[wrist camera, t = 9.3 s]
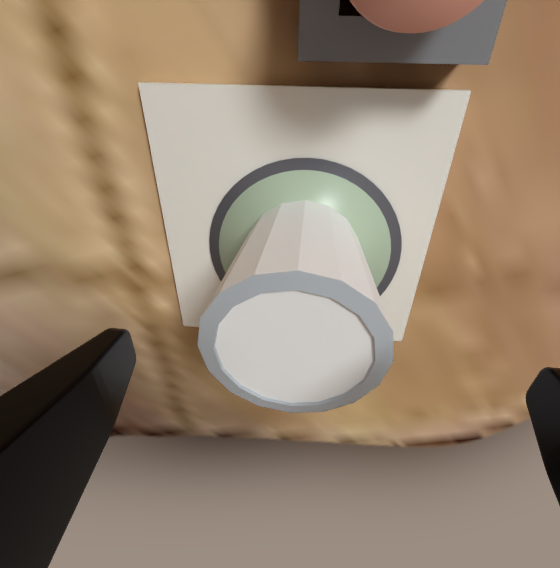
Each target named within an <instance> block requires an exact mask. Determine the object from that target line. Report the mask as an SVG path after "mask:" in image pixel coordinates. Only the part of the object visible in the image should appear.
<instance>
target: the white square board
mask: <svg viewBox="0 0 560 568" xmlns="http://www.w3.org/2000/svg"><path fill="white" fill-rule="evenodd" d="M138 85H139V90H140V96H141V101H142V106H143V112H144V117H145V123H146V128H147V133H148V139H149V144H150V149H151V155H152V160H153V165H154V171H155V176H156V181H157V187H158V192H159V198H160V203H161V208H162V214H163V219H164V224H165V230H166V235H167V240H168V246H169V251H170V256H171V262H172V267H173V272H174V278H175V283H176V289H177V294H178V299H179V305H180V310H181V315H182V321H183V326H190V327H199V326H200V317H201V316H202V314H203V312H204V310H205V309H206V307H207V305H208V304H209V302H210V300H211V298H212V297H213V295H214V293H215V291H216V290H217V288H218V286H219V284H220V283H221V281H222V279H223V278H224V276H225V274H226V272H227V271H228V269H229V267H230V265H231V264H232V262H233V260H234V258H235V257H236V255H237V253H238V251H239V250H240V248H241V246H242V245H243V243H244V241H245V239H246V238H247V236H248V234H249V232H250V231H251V229H252V228H253V227H254V225H255V224H256V223H257V221H258V220H259V218H260V217H261V216H262V214H264V213H266V212H267V211H269V210H271V209H273V208H274V207H276V206H278V205H280V204H281V203H287V202H295V201H302V200H307V201H311V202H316V203H320V204H324V205H328V206H330V207H331V208H332V209H334V210H335V211H337V212H338V213H339V214H341V215H342V216H344V217H345V218H346V219H347V220H348V222H349V223H350V225H351V227H352V228H353V230H354V232H355V234H356V235H357V237H358V240H359V242H360V245H361V248H362V250H363V253H364V256H365V258H366V261H367V264H368V266H369V269H370V271H371V274H372V277H373V279H374V282H375V285H376V287H377V290H378V293H379V295H380V298H381V301H382V303H383V306H384V309H385V311H386V314H387V316H388V319H389V322H390V324H391V327H392V330H393V341H402V338H403V335H404V331H405V328H406V324H407V320H408V317H409V313H410V310H411V306H412V302H413V299H414V295H415V292H416V288H417V284H418V281H419V277H420V274H421V270H422V266H423V263H424V259H425V256H426V252H427V248H428V245H429V241H430V237H431V234H432V230H433V227H434V223H435V219H436V216H437V212H438V209H439V205H440V201H441V198H442V194H443V191H444V187H445V183H446V180H447V176H448V173H449V169H450V165H451V162H452V158H453V155H454V151H455V147H456V144H457V140H458V137H459V133H460V129H461V126H462V122H463V119H464V115H465V111H466V108H467V104H468V101H469V97H470V93H471V91H470V90H450V89H408V88H367V87H326V86H284V85H243V84H201V83H160V82H140V83H138Z"/></svg>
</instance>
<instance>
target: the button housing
mask: <svg viewBox="0 0 560 568" xmlns="http://www.w3.org/2000/svg"><path fill="white" fill-rule="evenodd" d="M506 2H507V0H484V1H483V2H482V3H481V4H480V5H478V6H477V7H476V8H475V9H474V10H472V11H471V12H470V13H468V14H467V15H465V16H464V17H462V18H461V19H459V20H457V21H456V22H454V23H452V24H450V25H448V26H445V27H442V28H440V29H437V30H434V31H429V32H424V33H399V32H392V31H389V30H385V29H382V28H380V27H378V26H376V25H374V24H373V23H371V22H370V21H368V20H367V19H365V18H364V17H363V16H339V4H340V0H300V6H299V36H298V61H319V62H370V63H421V64H472V65H488V64H489V60H490V57H491V53H492V50H493V47H494V43H495V40H496V36H497V33H498V29H499V26H500V22H501V19H502V16H503V12H504V9H505V5H506Z"/></svg>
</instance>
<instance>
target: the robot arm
mask: <svg viewBox="0 0 560 568" xmlns="http://www.w3.org/2000/svg"><path fill="white" fill-rule="evenodd" d="M135 363H136V354H135V350H134V347H133V343H132V339H131V335H130V333H129V331H128V330H125V329H116V328H109V329H107V330H105V331H103V332H102V333H100V334H99V335H97V336H95V337H94V338H92V339H91V340H89V341H87V342H86V343H84V344H83V345H81V346H79V347H78V348H76V349H75V350H73V351H71V352H70V353H68V354H67V355H65V356H64V357H62V358H60V359H59V360H57V361H56V362H54V363H52V364H51V365H49V366H48V367H46V368H44V369H43V370H41V371H40V372H38V373H37V374H35V375H33V376H32V377H30V378H29V379H27V380H25V381H24V382H22V383H21V384H19V385H17V386H16V387H14V388H13V389H11V390H9V391H8V392H6V393H5V394H3V395H2V396H0V568H48V566H49V564H50V562H51V560H52V558H53V555H54V553H55V551H56V549H57V547H58V545H59V543H60V541H61V538H62V536H63V534H64V532H65V530H66V528H67V526H68V523H69V521H70V519H71V517H72V515H73V513H74V511H75V508H76V506H77V504H78V502H79V500H80V498H81V496H82V494H83V492H84V489H85V487H86V485H87V483H88V481H89V479H90V476H91V474H92V472H93V470H94V468H95V466H96V464H97V462H98V460H99V457H100V455H101V453H102V451H103V449H104V447H105V445H106V442H107V440H108V438H109V436H110V434H111V431H112V429H113V427H114V424H115V422H116V419H117V416H118V413H119V410H120V407H121V404H122V402H123V399H124V396H125V393H126V390H127V387H128V384H129V381H130V378H131V375H132V372H133V369H134V367H135ZM526 404H527V407H528V411H529V414H530V418H531V421H532V424H533V428H534V431H535V435H536V438H537V442H538V445H539V449H540V452H541V456H542V459H543V462H544V466H545V469H546V471H547V475H548V477H549V480H550V483H551V485H552V488H553V490H554V493H555V495H556V498H557V500H558V502H559V505H560V368H551V367H546V368H544V369H542V370H541V371H540V372H539V374H538V375H537V377H536V378H535V380H534V381H533V383H532V384H531V386H530V387H529V389H528V391H527V393H526Z"/></svg>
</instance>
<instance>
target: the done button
mask: <svg viewBox="0 0 560 568" xmlns="http://www.w3.org/2000/svg"><path fill="white" fill-rule="evenodd" d="M349 1H350V2H351V4H352V5H353V6H354V7H355V9H356V10H357V11H358V12H359V13H360V14H361V15H362V16H363V17H364V18H365V19H367V20H368V21H370V22H371V23H373V24H374V25H376V26H378V27H380V28H382V29H385V30H389V31H392V32H399V33H424V32H429V31H434V30H437V29H440V28H442V27H445V26H448V25H450V24H452V23H454V22H456V21H457V20H459V19H461V18H462V17H464V16H465V15H467V14H468V13H470V12H471V11H472V10H474V9H475V8H476V7H477V6H478V5H480V4H481V3H482V2H483V1H484V0H349Z"/></svg>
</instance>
